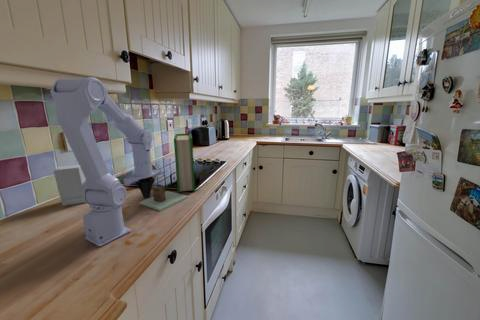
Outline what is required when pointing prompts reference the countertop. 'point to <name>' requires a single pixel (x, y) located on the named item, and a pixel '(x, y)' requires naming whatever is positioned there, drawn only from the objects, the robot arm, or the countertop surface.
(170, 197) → the tray
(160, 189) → the walnut block
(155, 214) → the countertop surface
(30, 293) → the countertop surface
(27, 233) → the countertop surface
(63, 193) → the skincare box
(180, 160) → the hardback book
